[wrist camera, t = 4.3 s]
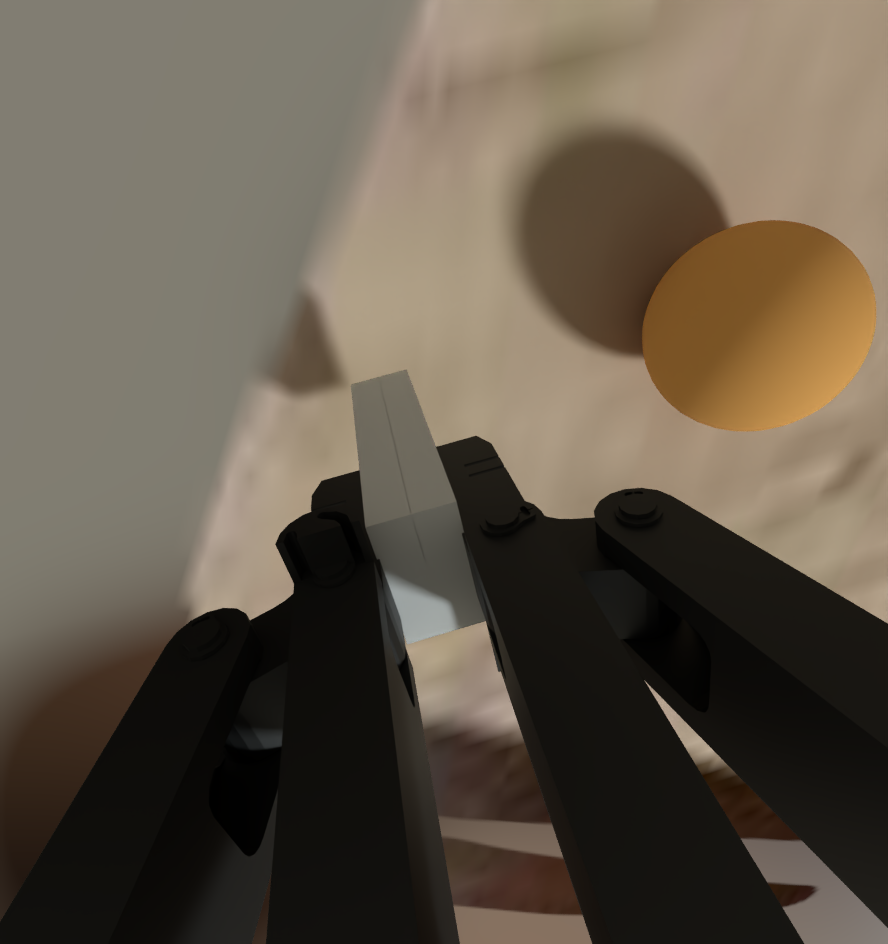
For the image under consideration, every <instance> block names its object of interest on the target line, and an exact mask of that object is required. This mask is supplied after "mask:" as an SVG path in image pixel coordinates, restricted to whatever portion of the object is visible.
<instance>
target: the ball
mask: <svg viewBox="0 0 888 944" xmlns="http://www.w3.org/2000/svg"><path fill="white" fill-rule="evenodd" d="M875 325H876V301H875V294H874V291H873V287H872V284H871V281H870V279H869V276H868V274H867V272H866V270H865V268H864V267H863V265H862V264H861V262H860V261H859V260H858V258H857V257H856V256H855V255H854V253H853V252H852V251H851V250H850V249H849V248H847V247H846V246H845V245H844V244H843V243H841V242H840V241H839V240H838V239H836V238H835V237H833V236H831V235H829V234H828V233H826V232H824V231H822V230H819V229H817V228H815V227H811V226H808V225H805V224H801V223H796V222H790V221H776V220H771V221H757V222H752V223H746V224H741V225H737V226H734V227H731V228H728V229H725V230H723V231H720V232H718V233H716V234H714V235H712V236H710V237H708V238H706V239H704V240H703V241H701V242H700V243H698V244H696V245H695V246H694V247H692V248H691V249H690V250H688V251H687V252H686V253H685V254H684V255H682V256H681V257H680V258H679V259H678V260H677V261H676V262H675V263H674V264H673V265H672V266H671V267H670V269H669V270H668V271H667V272H666V273H665V275H664V276H663V278H662V279H661V281H660V282H659V284H658V285H657V287H656V289H655V291H654V293H653V295H652V297H651V299H650V302H649V304H648V307H647V310H646V314H645V317H644V323H643V329H642V346H643V355H644V360H645V364H646V367H647V369H648V372H649V374H650V377H651V379H652V381H653V383H654V384H655V386H656V388H657V389H658V390H659V392H660V393H661V394H662V396H663V397H664V398H665V399H666V400H667V401H668V402H669V403H670V404H671V405H672V406H673V407H675V408H676V409H677V410H678V411H680V412H681V413H682V414H684V415H686V416H688V417H690V418H691V419H693V420H695V421H697V422H699V423H702V424H705V425H708V426H711V427H714V428H718V429H724V430H731V431H759V430H767V429H771V428H776V427H780V426H784V425H787V424H790V423H793V422H795V421H797V420H799V419H802V418H804V417H806V416H808V415H810V414H812V413H814V412H815V411H817V410H819V409H820V408H822V407H823V406H825V405H826V404H827V403H829V402H830V401H831V400H832V399H833V398H835V397H836V396H837V395H838V394H839V393H840V392H841V391H842V390H843V389H844V388H845V387H846V386H847V385H848V384H849V382H850V381H851V380H852V379H853V377H854V376H855V375H856V373H857V372H858V370H859V369H860V367H861V365H862V364H863V362H864V360H865V358H866V356H867V353H868V351H869V348H870V346H871V343H872V340H873V336H874V332H875Z"/></svg>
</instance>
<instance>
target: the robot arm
mask: <svg viewBox="0 0 888 944" xmlns="http://www.w3.org/2000/svg"><path fill="white" fill-rule="evenodd" d="M351 390H352V400H353V410H354V420H355V430H356V440H357V450H358V460H359V471H355V472H352V473H348V474H344V475H341V476H337V477H334V478H330V479H327V480H323V481H321V483H320V484H319V486H318V487H317V489H316V490H315V492H314V493H313V495H312V503H311V511H312V512H310V513H307V514H305V515H302V516H301V517H299V518H298V519H296V520H295V521H293V522H292V523H290V524H289V525H288V526H287V527H286V528H285V529H284V530H283V531H282V532H281V533H280V535H279V537H278V540H277V542H276V547H277V549H278V551H279V553H280V555H281V557H282V559H283V561H284V563H285V565H286V568H287V570H288V572H289V574H290V576H291V578H292V580H293V582H294V593H293V594H292V595H291V596H290V597H289V598H288V599H287V600H285V601H284V602H282V603H281V604H279V605H278V606H276V607H274V608H273V609H271V610H269V611H267V612H265V613H263V614H261V615H259V616H258V617H256V618H254V619H252V620H249V618H248V616H247V614H246V613H244V612H242V611H240V610H238V609H234V608H222V609H218V610H214V611H210V612H207V613H205V614H203V615H201V616H199V617H197V618H195V619H193V620H191V621H190V622H189V623H188V624H186V625H185V626H184V627H183V628H181V629H180V630H179V631H178V632H177V633H176V634H175V635H174V636H173V638H172V639H171V640H170V641H169V643H168V644H167V645H166V647H165V648H164V650H163V652H162V653H161V655H160V657H159V658H158V660H157V662H156V663H155V665H154V667H153V668H152V670H151V671H150V673H149V675H148V677H147V678H146V680H145V681H144V683H143V685H142V686H141V688H140V690H139V692H138V693H137V695H136V697H135V698H134V700H133V702H132V703H131V705H130V707H129V708H128V710H127V712H126V713H125V715H124V716H123V718H122V720H121V722H120V723H119V725H118V726H117V728H116V730H115V731H114V733H113V735H112V736H111V738H110V740H109V742H108V743H107V745H106V747H105V748H104V750H103V751H102V753H101V755H100V756H99V758H98V760H97V761H96V763H95V765H94V767H93V768H92V770H91V772H90V773H89V775H88V777H87V778H86V780H85V782H84V783H83V785H82V786H81V788H80V790H79V791H78V793H77V795H76V796H75V798H74V800H73V801H72V803H71V805H70V806H69V808H68V810H67V811H66V813H65V815H64V816H63V818H62V820H61V821H60V823H59V825H58V826H57V828H56V830H55V832H54V833H53V835H52V836H51V838H50V840H49V841H48V843H47V845H46V846H45V848H44V850H43V851H42V853H41V855H40V856H39V858H38V860H37V862H36V863H35V865H34V867H33V868H32V870H31V871H30V873H29V875H28V877H27V878H26V880H25V881H24V883H23V885H22V887H21V888H20V890H19V892H18V893H17V895H16V896H15V898H14V900H13V901H12V903H11V905H10V906H9V908H8V910H7V912H6V913H5V915H4V916H3V918H2V920H1V921H0V944H252V941H253V937H254V933H255V930H256V926H257V923H258V919H259V915H260V912H261V908H262V904H263V901H264V897H265V894H266V890H267V886H268V883H269V879H270V875H271V887H270V900H269V913H268V926H267V939H266V944H460V942H459V936H458V931H457V925H456V919H455V913H454V907H453V901H452V895H451V889H450V883H449V878H448V872H447V866H446V860H445V854H444V848H443V842H442V837H441V831H440V825H439V819H438V813H437V807H436V801H435V795H434V790H433V784H432V778H431V772H430V766H429V760H428V754H427V749H426V743H425V737H424V731H423V725H422V719H421V713H420V707H419V702H418V696H417V690H416V684H415V678H414V672H413V667H412V664H411V661H410V659H409V656H408V653H407V650H406V647H405V641H404V636H405V639H406V642H407V644H410V643H413V642H417V641H420V640H423V639H427V638H430V637H433V636H437V635H440V634H443V633H447V632H450V631H454V630H457V629H460V628H464V627H467V626H470V625H474V624H477V623H480V622H484V621H486V623H487V627H488V631H489V635H490V639H491V643H492V647H493V651H494V656H495V660H496V664H497V668H498V672H500V671H501V673H502V676H503V679H504V682H505V685H506V688H507V691H508V694H509V697H510V700H511V703H512V706H513V709H514V712H515V715H516V718H517V721H518V724H519V727H520V730H521V733H522V736H523V739H524V742H525V745H526V748H527V751H528V754H529V756H530V759H531V762H532V765H533V768H534V771H535V774H536V777H537V780H538V783H539V786H540V789H541V792H542V795H543V798H544V801H545V804H546V807H547V810H548V813H549V816H550V819H551V822H552V825H553V828H554V831H555V834H556V837H557V840H558V843H559V846H560V849H561V852H562V855H563V858H564V861H565V864H566V867H567V870H568V873H569V876H570V879H571V882H572V885H573V888H574V891H575V893H576V896H577V899H578V902H579V905H580V908H581V911H582V914H583V917H584V920H585V923H586V926H587V929H588V932H589V935H590V938H591V941H592V944H804V943H803V941H802V939H801V938H800V936H799V934H798V933H797V931H796V929H795V928H794V926H793V924H792V923H791V921H790V920H789V918H788V916H787V915H786V913H785V911H784V910H783V908H782V906H781V905H780V903H779V901H778V900H777V898H776V896H775V895H774V893H773V891H772V890H771V888H770V886H769V885H768V883H767V882H766V880H765V878H764V877H763V875H762V873H761V872H760V870H759V868H758V867H757V865H756V863H755V862H754V860H753V859H752V857H751V855H750V854H749V852H748V850H747V849H746V847H745V845H744V844H743V842H742V840H741V839H740V837H739V835H738V834H737V832H736V831H735V829H734V827H733V826H732V824H731V822H730V821H729V819H728V817H727V816H726V814H725V812H724V811H723V809H722V807H721V806H720V804H719V803H718V801H717V799H716V798H715V796H714V794H713V793H712V791H711V789H710V788H709V786H708V784H707V783H706V781H705V780H704V778H703V776H702V775H701V773H700V771H699V770H698V768H697V766H696V765H695V763H694V761H693V760H692V758H691V756H690V755H689V753H688V752H687V750H686V748H685V747H684V745H683V743H682V742H681V740H680V738H679V737H678V735H677V733H676V732H675V730H674V728H673V727H672V725H671V724H670V722H669V720H668V719H667V717H666V715H665V714H664V712H663V710H662V709H661V707H660V705H659V704H658V702H657V700H656V699H655V697H654V696H653V694H652V692H651V691H650V689H649V687H648V686H647V684H646V682H647V683H648V684H649V685H650V686H651V687H652V688H653V689H654V690H655V691H656V692H657V693H658V694H659V695H660V696H661V697H662V698H663V699H664V700H665V701H666V702H667V704H668V705H669V706H670V707H671V708H672V709H673V710H674V711H675V712H676V713H677V714H678V715H679V716H680V717H681V718H682V719H683V720H684V721H685V722H686V723H687V724H688V725H689V726H690V727H691V728H692V729H693V730H694V731H695V732H696V733H697V734H698V735H699V736H700V737H701V738H702V739H703V740H704V741H705V742H706V743H707V744H708V745H709V746H710V747H711V748H712V749H713V750H714V751H715V752H716V753H717V754H718V755H719V756H720V757H721V759H722V760H723V761H724V762H725V763H726V764H727V765H728V766H729V767H730V768H731V769H732V770H733V771H734V772H735V773H736V774H737V775H738V776H739V777H740V778H741V779H742V780H743V781H744V782H745V783H746V784H747V785H748V786H749V787H750V788H751V789H752V790H753V791H754V792H755V793H756V794H757V795H758V796H759V797H760V798H761V799H762V800H763V801H764V802H765V803H766V804H767V805H768V806H769V807H770V808H771V809H772V810H773V811H774V812H775V814H776V815H777V816H778V817H779V818H780V819H781V820H782V821H783V822H784V823H785V824H786V825H787V826H788V827H789V828H790V829H791V830H792V831H793V832H794V833H795V834H796V835H797V836H798V837H799V838H800V839H801V840H802V841H803V842H804V843H805V844H806V845H807V846H808V847H809V848H810V849H811V850H812V851H813V852H814V853H815V854H816V855H817V856H818V857H819V858H820V859H821V860H822V861H823V862H824V863H825V864H826V865H827V866H828V867H829V869H830V870H831V871H833V873H834V874H835V875H836V876H837V877H838V878H839V879H840V880H841V881H842V882H843V883H844V884H845V885H846V886H847V887H848V888H849V889H850V890H851V891H852V892H853V893H854V894H855V895H856V896H857V897H858V898H859V899H860V900H861V901H862V902H863V903H864V904H865V905H866V906H867V907H868V908H869V909H870V910H871V911H872V912H873V913H874V914H875V915H876V916H877V917H878V918H879V919H880V920H881V921H882V922H883V924H884V925H885V926H887V928H888V624H887V623H886V622H884V621H882V620H881V619H879V618H877V617H876V616H874V615H872V614H871V613H869V612H867V611H866V610H864V609H862V608H860V607H859V606H857V605H855V604H854V603H852V602H850V601H849V600H847V599H845V598H844V597H842V596H840V595H838V594H837V593H835V592H833V591H832V590H830V589H828V588H827V587H825V586H823V585H822V584H820V583H818V582H816V581H815V580H813V579H811V578H810V577H808V576H806V575H805V574H803V573H801V572H800V571H798V570H796V569H794V568H793V567H791V566H789V565H788V564H786V563H784V562H783V561H781V560H779V559H778V558H776V557H774V556H772V555H771V554H769V553H767V552H766V551H764V550H762V549H761V548H759V547H757V546H756V545H754V544H752V543H750V542H749V541H747V540H745V539H744V538H742V537H740V536H739V535H737V534H735V533H734V532H732V531H730V530H728V529H727V528H725V527H723V526H722V525H720V524H718V523H717V522H715V521H713V520H712V519H710V518H708V517H707V516H705V515H703V514H701V513H700V512H698V511H696V510H695V509H693V508H691V507H690V506H688V505H686V504H685V503H683V502H681V501H679V500H678V499H676V498H674V497H673V496H671V495H668V494H666V493H663V492H661V491H658V490H652V489H645V488H635V489H624V490H621V491H618V492H615V493H612V494H609V495H608V496H606V497H605V498H604V499H602V500H601V501H599V503H598V505H597V506H596V508H595V510H594V515H595V518H582V519H556V518H550V517H546V516H544V515H543V513H542V511H541V510H539V509H538V508H537V507H536V506H535V505H534V504H532V503H529V502H526V501H524V499H523V497H522V496H521V494H520V492H519V490H518V489H517V487H516V485H515V483H514V482H513V480H512V478H511V477H510V475H509V473H508V471H507V470H506V468H504V465H503V463H502V461H501V459H500V458H499V457H498V454H497V453H496V451H495V449H494V447H493V446H492V444H491V443H489V442H487V441H485V440H483V439H481V438H480V437H478V436H474V437H470V438H467V439H463V440H460V441H456V442H452V443H449V444H445V445H442V446H438V447H436V446H435V443H434V441H433V438H432V435H431V433H430V430H429V428H428V425H427V422H426V420H425V417H424V414H423V412H422V409H421V406H420V404H419V401H418V399H417V396H416V393H415V391H414V388H413V385H412V383H411V380H410V377H409V375H408V372H407V370H403V371H399V372H395V373H392V374H388V375H384V376H381V377H377V378H373V379H370V380H366V381H362V382H359V383H355V384H351ZM403 633H404V635H403ZM644 680H645V681H646V682H645V681H644ZM271 872H272V874H271Z"/></svg>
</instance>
